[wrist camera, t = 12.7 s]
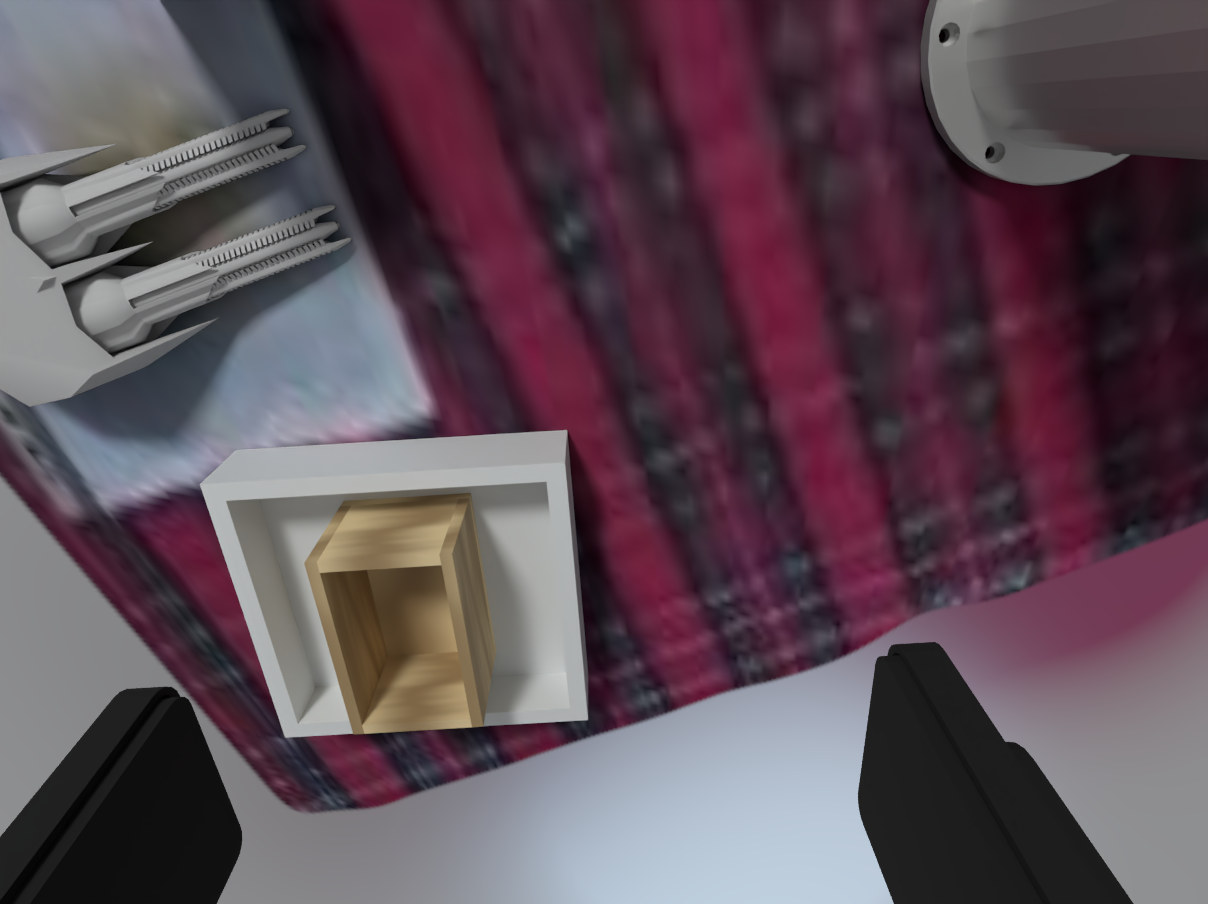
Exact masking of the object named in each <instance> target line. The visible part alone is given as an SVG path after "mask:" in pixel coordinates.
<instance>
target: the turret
mask: <svg viewBox="0 0 1208 904" xmlns="http://www.w3.org/2000/svg"><path fill="white" fill-rule="evenodd" d="M289 111H290V110H288V109H286V108H284V109H277V110H271V111H266V112H264V113H261V114H259V115H256V116H253V117H251V118H248V119H247V120H246V119H245V120H243V121H241V122H237V123H236V124H232V125H230V126H227V127H225V128H222V129H220V130H217V131H214V132H211V133H209V134H206V135H203V136H201V137H198V138H197V139H193V140H191V141H188V142H186V143H182V144H180V145H177V146H175V147H172V148H169V149H167V150H164V151H161V152H159V153H156V154H154V155H152V156H148V157H147V158H137V159H134V160H130V161H127V162H125V163H122V164H119V165H117V166H114V167H111V168H109V169H106V170H104V171H101V172H98V173H96V174H93V175H90V176H88V177H87V176H69V175H52V174H46V173H48V172H50V171H53V170H55V169H58V168H60V167H63V166H65V165H67V164H70V163H72V162H75V161H77V160H80V159H82V158H84V157H87V156H89V155H92V154H94V153H97V152H99V151H101V150H104V149H106V148H109V147H111V146H114V145H116V144H111V145H104V146H96V147H88V148H80V149H73V150H65V151H57V152H49V153H42V154H34V155H26V156H18V157H11V158H6V159H3V160H0V389H1V390H3V391H4V392H6V393H8V394H9V395H11V396H13V397H14V398H16V399H18V400H19V401H21V402H23V403H24V404H26V405H28V406H29V407H30V406H34V405H39V404H43V403H48V402H52V401H57V400H61V399H66V398H70V397H73V396H75V395H78V394H80V393H83V392H85V391H88V390H90V389H93V388H95V387H98V386H100V385H103V384H105V383H108V382H110V381H112V380H115V379H117V378H120V377H122V376H125V375H127V374H130V373H132V372H135V371H137V370H140V369H142V368H145V367H146V366H148V365H149V364H151V363H152V362H154V361H155V360H157V359H158V358H160V357H161V356H163V355H164V354H166V353H167V352H169V351H170V350H172V349H173V348H175V347H176V346H178V345H179V344H181V343H182V342H184V341H185V340H187V339H188V338H190V337H191V336H193V335H194V334H196V333H197V332H199V331H200V330H202V329H203V328H205V327H206V326H208V325H209V324H211V323H212V322H214V321H215V320H217V319H218V318H216V319H213V320H210V321H208V322H205V323H202V324H199V325H196V326H193V327H190V328H188V329H185V330H182V331H179V332H176V333H173V334H170V335H168V336H165V337H162V338H159V339H157V338H158V337H159V336H160V335H161V334H162V332H163V331H164V330H165V329H166V328H167V327H168V326H169V325H170V324H171V323H172V322H173V321H174V319H175V318H176V317H177V316H178V315H179V314H180V313H183V312H185V311H188V310H191V309H193V308H196V307H198V306H201V305H204V304H206V303H209V302H211V301H214V300H216V299H219V298H221V297H222V296H223V295H224V294H226V293H227V292H229V291H232V290H235V289H237V288H240V287H243V286H245V285H248V284H250V283H253V282H255V281H258V280H260V279H263V278H266V277H269V276H271V275H274V274H276V273H279V272H281V271H284V270H286V269H289V268H291V267H294V266H297V265H300V264H302V263H305V262H307V261H310V260H312V259H315V258H317V257H320V256H322V255H326V254H327V253H331V252H332V251H336V250H338V249H339V248H341V247H343V246H344V245H346V244H347V243H349V242H350V241H351V239H352V238H350V237H348V238H344V239H342V240H338V241H335V242H330V241H327V240H326V241H323V240H324V239H326V238H327V237H329V236H330V235H331V234H333V233H334V232H335V231H337V230H338V229H339V226H340V225H339V223H338V222H335V221H333V222H323V223H317V224H315V222H316V221H317V220H318V217H319V216H321V215H323V214H325V213H327V212H329V211H331V210H334V209H335V208H336V206H335V205H328V206H322V207H317V208H314V209H312V210H309V211H307V212H303V213H302V214H298V215H297V216H293V217H291V218H288V219H286V220H283V221H281V222H277V223H275V224H272V225H270V226H267V227H265V228H262V229H260V230H257V231H254V232H251V233H249V234H246V235H244V236H241V237H239V238H236V239H233V240H231V241H228V242H225V243H223V244H220V245H218V246H215V247H212V248H210V249H207V250H205V251H195V252H192V253H189V254H186V255H184V256H181V257H178V258H176V259H173V260H171V261H168V262H165V263H163V264H160V265H158V266H155V267H137V266H111V265H113V264H115V263H117V262H118V261H120V260H122V259H124V258H125V257H127V256H129V255H131V254H132V253H134V252H136V251H138V250H139V249H141V248H143V247H144V246H146V245H148V244H150V243H151V242H149V243H145V244H142V245H138V246H134V247H130V248H126V249H123V250H119V251H115V252H111V253H107V252H108V251H109V249H110V248H111V247H112V246H113V245H114V244H115V243H116V242H117V240H118V239H119V238H120V237H121V236H122V235H123V234H124V233H125V231H126V230H127V229H128V228H129V227H130V226H131V225H132V224H133V222H136V221H139V220H141V219H144V218H146V217H149V216H152V215H154V214H157V213H160V212H162V211H165V210H167V209H170V208H171V207H173V206H174V205H175V204H177V203H178V202H179V201H181V200H184V199H187V198H189V197H192V196H194V195H197V194H200V193H202V192H205V191H207V190H210V189H212V188H215V187H217V186H221V185H222V184H226V183H228V182H231V181H233V180H236V179H238V178H241V177H244V176H247V175H249V174H252V173H254V172H257V171H260V170H262V169H265V168H268V167H270V166H273V165H275V164H276V163H277V164H278V163H281V162H283V161H286V160H287V159H291V158H293V157H295V156H296V155H298V154H299V153H301V152H302V151H304V150H305V149H306V148H307V146H306V145H299V146H295V147H292V148H288V149H282V148H277V146H280V145H281V144H282V143H284V142H285V141H286V140H287V139H289V138H290V137H291V136H292V135H293V134H294V131H293V129H292V128H290V127H277V128H269V129H267V127H269V126H270V125H271V121H273V120H275V119H277V118H279V117H282V116H285V115H287V114H288V113H289ZM262 129H263V131H261V130H262ZM265 129H266V130H265ZM256 131H257V132H258V133H256ZM260 131H261V132H260ZM255 133H256V134H255ZM251 134H255V135H251ZM241 138H242V139H241ZM272 148H273V150H271V149H272ZM213 149H214V150H213ZM209 151H210V152H209ZM266 151H268V152H266ZM202 153H203V154H202ZM260 153H262V154H260ZM197 155H199V156H197ZM255 155H256V157H255ZM192 157H193V158H192ZM249 157H251V158H249ZM186 159H188V160H186ZM243 159H245V160H243ZM181 161H182V162H181ZM176 163H177V164H176ZM222 167H223V168H222ZM309 224H311V226H309ZM304 226H305V227H306V228H304ZM299 228H300V230H299ZM294 230H295V232H294ZM318 242H320V243H318ZM313 243H314V244H315V245H313ZM307 246H309V247H307ZM303 248H304V249H303ZM298 250H299V251H298ZM106 253H107V254H106ZM219 318H220V317H219Z"/></svg>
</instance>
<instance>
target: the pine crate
mask: <svg viewBox="0 0 1208 904" xmlns="http://www.w3.org/2000/svg"><path fill="white" fill-rule="evenodd" d="M304 564H305V568H306V571H307V575H308V578H309V582H310V585H311V589H312V592H313V596H314V599H315V603H316V606H317V610H318V613H319V617H320V620H321V624H322V627H323V631H324V634H325V638H326V641H327V645H328V648H329V652H330V655H331V659H332V662H333V665H334V669H335V672H336V676H337V679H338V683H339V686H340V690H341V693H342V697H343V700H344V704H345V707H346V711H347V714H348V718H349V721H350V725H351V728H352V732H353V734H369V733H386V732H402V731H418V730H435V729H451V728H468V727H483V725H484V719H485V713H486V708H487V702H488V696H489V690H490V684H491V679H492V673H493V667H494V661H495V655H496V646H495V640H494V633H493V627H492V621H491V615H490V608H489V602H488V596H487V590H486V583H485V577H484V571H483V565H482V558H481V552H480V546H479V540H478V533H477V527H476V521H475V515H474V508H473V502H472V496H471V493H462V494H446V495H430V496H415V497H399V498H383V499H367V500H352V501H343V503H342V504H341V506H340V507H339V509H338V511H337V512H336V514H335V515H334V517H333V518H332V520H331V522H330V523H329V525H328V526H327V528H326V529H325V531H324V533H323V534H322V536H321V537H320V539H319V540H318V542H317V544H316V545H315V547H314V548H313V550H312V551H311V553H310V555H309V556H308V558H307V559H306V561H305V562H304Z"/></svg>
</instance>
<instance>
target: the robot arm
mask: <svg viewBox="0 0 1208 904" xmlns="http://www.w3.org/2000/svg"><path fill="white" fill-rule="evenodd" d="M940 30H943V31H944V32H945V39H944V41H943V42H942V43H940V41H939V33H940ZM921 79H922V84H923V90H924V95H925V100H926V105H927V107H928V110H929V112H930V114H931V117H932V119H933V122H934V124H935V127H936V129H937V130H938V132H939V133H940V135H941V136H942V138H943V139H944V140H945V142H946V143H947V145H948V146H949V148H950V149H951V150H952V151H953V152H954V153H955V154H956V155H958V156H959V157H960V158H961V159H962V160H963V161H964V162H965V163H967V164H968V165H969V166H971V167H972V168H974V169H976V170H978V171H980V172H982V173H984V174H986V175H987V176H989V177H993V178H996V179H1000V180H1004V181H1008V182H1011V183H1018V184H1027V185H1034V186H1037V185H1053V184H1063V183H1067V182H1071V181H1075V180H1079V179H1083V178H1087V177H1090V176H1092V175H1094V174H1096V173H1099V172H1101V171H1103V170H1105V169H1108V168H1110V167H1112V166H1114V165H1116V164H1118V163H1119V162H1121V161H1122V160H1124V159H1125V158H1127V157H1128V156H1130V155H1145V156H1159V157H1173V158H1187V159H1201V160H1208V0H930V1H929V5H928V8H927V11H926V14H925V21H924V27H923V34H922V40H921ZM988 147H989V148H990V153H989V155H988V156H987V157H986V158H985V153H986V150H987V148H988ZM858 804H859V810H860V815H861V819H862V822H863V825H864V828H865V830H866V833H867V835H868V838H869V840H870V843H871V846H872V848H873V851H874V853H875V856H876V858H877V861H878V864H879V866H880V869H881V871H882V874H883V877H884V879H885V882H886V884H887V887H888V889H889V892H890V895H891V896H892V900H893V902H894V904H1133V902H1132V901H1131V900H1130V898H1129V897H1128V895H1127V894H1126V892H1125V891H1124V889H1123V888H1122V886H1121V885H1120V884H1119V882H1118V881H1117V879H1116V878H1115V877H1114V875H1113V873H1112V872H1111V870H1110V869H1109V868H1108V866H1107V865H1106V863H1105V862H1104V860H1103V859H1102V857H1101V856H1100V855H1099V853H1098V852H1097V850H1096V849H1095V847H1094V846H1093V844H1092V843H1091V842H1090V840H1089V839H1088V837H1087V836H1086V834H1085V833H1084V832H1083V830H1082V829H1081V827H1080V826H1079V824H1078V823H1077V821H1076V820H1075V818H1074V817H1073V816H1072V814H1071V813H1070V811H1069V810H1068V808H1067V807H1066V806H1065V804H1064V803H1063V801H1062V800H1061V798H1060V797H1059V795H1058V794H1057V792H1056V791H1055V789H1054V788H1053V787H1052V785H1051V784H1050V782H1049V781H1048V779H1047V778H1046V776H1045V775H1044V774H1043V772H1042V771H1041V770H1040V768H1039V766H1038V765H1037V763H1036V762H1035V761H1034V759H1033V758H1032V757H1031V756H1030V755H1029V753H1028V752H1027V751H1026V750H1025V749H1024V748H1023V747H1021V746H1020V745H1018V744H1017V743H1014V742H1005V741H1004V739H1003V738H1002V736H1001V735H1000V733H999V732H998V730H997V729H996V727H995V726H994V724H993V723H992V721H991V720H990V718H989V717H988V715H987V714H986V712H985V711H984V709H983V708H982V706H981V705H980V703H979V702H978V700H977V699H976V697H975V696H974V694H973V693H972V691H971V690H970V688H969V687H968V685H967V684H966V682H965V681H964V679H963V678H962V676H961V675H960V673H959V672H958V670H957V669H956V667H955V666H954V664H953V663H952V661H951V660H950V658H949V657H948V655H947V654H946V652H945V651H944V650H943V648H942V647H941V646H940V645H939V644H937V643H936V642H928V643H911V644H895V645H892V646H891V647H890V649H889V652H888V656H881V657H878V658H877V661H876V664H875V672H874V679H873V686H872V694H871V701H870V709H869V716H868V723H867V731H866V739H865V746H864V753H863V761H862V768H861V776H860V783H859V790H858ZM241 845H242V831H241V827H240V824H239V822H238V819H237V817H236V814H235V812H234V809H233V807H232V804H231V802H230V799H229V797H228V794H227V792H226V789H225V787H224V785H223V782H222V780H221V777H220V775H219V772H218V770H217V767H216V765H215V762H214V760H213V757H212V755H211V752H210V750H209V747H208V745H207V742H206V740H205V737H204V735H203V732H202V730H201V727H200V725H199V722H198V720H197V717H196V715H195V712H194V710H193V708H192V705H191V703H190V701H189V700H188V699H187V698H185V697H180V695H179V694H178V692H177V691H176V690H175V689H174V688H172V687H153V688H136V689H126V690H123V691H121V692H119V693H118V694H117V695H116V696H115V697H114V698H113V700H112V701H111V702H110V703H109V704H108V705H107V707H106V708H105V709H104V710H103V712H102V713H101V714H100V715H99V717H98V718H97V719H96V720H95V721H94V723H93V724H92V725H91V726H90V728H89V729H88V730H87V731H86V732H85V734H84V735H83V736H82V737H81V739H80V740H79V741H78V742H77V743H76V745H75V746H74V747H73V748H72V750H71V751H70V752H69V753H68V755H67V756H66V757H65V758H64V760H63V761H62V762H61V763H60V764H59V766H58V767H57V768H56V769H55V771H54V772H53V773H52V774H51V775H50V777H49V778H48V779H47V780H46V782H45V783H44V784H43V785H42V786H41V788H40V789H39V790H38V791H37V793H36V794H35V795H34V796H33V798H32V799H31V800H30V801H29V803H28V804H27V805H26V806H25V807H24V808H23V810H22V811H21V812H20V813H19V815H18V816H17V817H16V818H15V820H14V821H13V822H12V823H11V824H10V826H9V827H8V828H7V829H6V831H5V832H4V833H3V834H2V835H1V837H0V904H217V902H218V899H219V897H220V895H221V893H222V891H223V889H224V887H225V885H226V883H227V881H228V878H229V876H230V874H231V872H232V870H233V868H234V866H235V864H236V861H237V859H238V857H239V854H240V850H241Z"/></svg>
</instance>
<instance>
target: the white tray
mask: <svg viewBox="0 0 1208 904" xmlns="http://www.w3.org/2000/svg"><path fill="white" fill-rule="evenodd" d="M200 486H201V489H202V492H203V495H204V498H205V501H206V504H207V507H208V510H209V513H210V516H211V519H212V522H213V525H214V528H215V531H216V533H217V536H218V539H219V542H220V545H221V548H222V551H223V554H224V557H225V560H226V563H227V566H228V569H229V572H230V575H231V578H232V581H233V584H234V587H235V590H236V593H237V596H238V599H239V602H240V605H241V608H242V611H243V614H244V617H245V620H246V623H247V625H248V628H249V631H250V634H251V637H252V640H253V643H254V646H255V649H256V652H257V655H258V658H259V661H260V664H261V667H262V670H263V673H264V676H265V679H266V682H267V685H268V688H269V691H270V694H271V697H272V700H273V703H274V706H275V709H276V712H277V714H278V717H279V720H280V723H281V726H282V729H283V732H284V735H285V737H303V736H320V735H338V734H353V732H352V728H351V725H350V721H349V718H348V714H347V711H346V707H345V704H344V700H343V697H342V693H341V690H340V686H339V683H338V679H337V676H336V672H335V669H334V665H333V662H332V659H331V655H330V652H329V648H328V645H327V641H326V638H325V634H324V631H323V627H322V624H321V620H320V617H319V613H318V610H317V606H316V603H315V599H314V596H313V592H312V589H311V585H310V582H309V578H308V575H307V571H306V568H305V564H304V562H305V561H306V559H307V558H308V556H309V555H310V553H311V551H312V550H313V548H314V547H315V545H316V544H317V542H318V540H319V539H320V537H321V536H322V534H323V533H324V531H325V529H326V528H327V526H328V525H329V523H330V522H331V520H332V518H333V517H334V515H335V514H336V512H337V511H338V509H339V507H340V506H341V504H342V503H343V501H352V500H367V499H383V498H399V497H415V496H430V495H446V494H462V493H471V496H472V502H473V508H474V515H475V521H476V527H477V533H478V540H479V546H480V552H481V558H482V565H483V571H484V577H485V583H486V590H487V596H488V602H489V608H490V615H491V621H492V627H493V633H494V640H495V646H496V655H495V661H494V667H493V673H492V679H491V684H490V690H489V696H488V702H487V708H486V713H485V719H484V725H483V726H494V725H511V724H529V723H546V722H564V721H581V720H588V666H587V654H586V642H585V631H584V619H583V608H582V596H581V584H580V573H579V561H578V550H577V538H576V526H575V515H574V503H573V492H572V480H571V468H570V457H569V445H568V433H567V430H559V431H542V432H526V433H509V434H492V435H476V436H459V437H443V438H426V439H409V440H393V441H376V442H360V443H343V444H326V445H310V446H293V447H277V448H260V449H243V450H236V451H235V452H233V453H232V454H231V455H230V456H229V457H228V458H227V459H226V460H225V461H224V462H223V463H222V464H221V465H220V466H219V467H218V468H217V469H216V470H215V471H213V472H212V473H211V474H210V475H209V476H208V477H207V478H206V479H205V480H204V481H203V482H202V483H201V484H200Z"/></svg>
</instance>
